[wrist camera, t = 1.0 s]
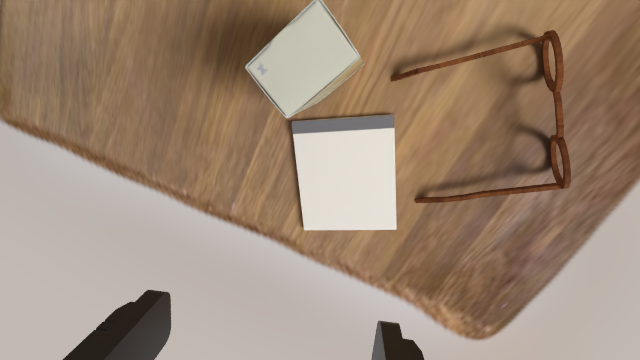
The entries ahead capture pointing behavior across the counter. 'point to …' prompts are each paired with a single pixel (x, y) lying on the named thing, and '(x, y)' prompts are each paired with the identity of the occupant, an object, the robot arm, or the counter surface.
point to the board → (346, 172)
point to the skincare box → (305, 61)
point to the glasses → (557, 138)
